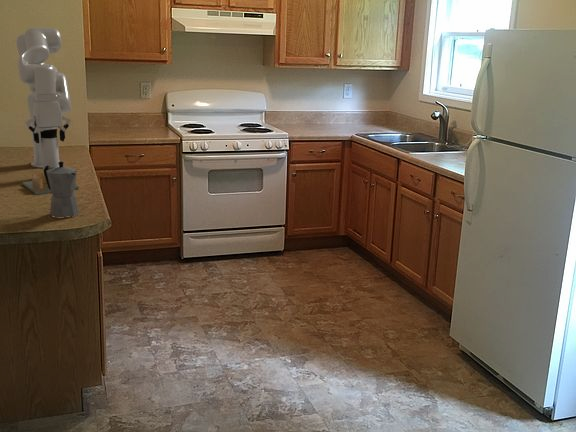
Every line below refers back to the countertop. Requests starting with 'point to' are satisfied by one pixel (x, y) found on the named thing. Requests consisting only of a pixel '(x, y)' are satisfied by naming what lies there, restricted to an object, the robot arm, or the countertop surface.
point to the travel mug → (49, 148)
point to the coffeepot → (62, 190)
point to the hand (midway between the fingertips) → (49, 141)
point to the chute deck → (39, 184)
